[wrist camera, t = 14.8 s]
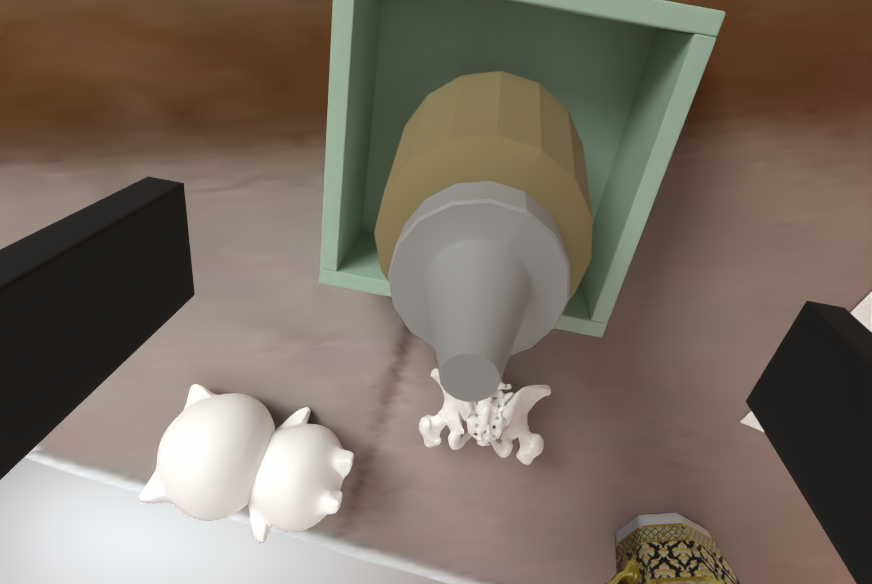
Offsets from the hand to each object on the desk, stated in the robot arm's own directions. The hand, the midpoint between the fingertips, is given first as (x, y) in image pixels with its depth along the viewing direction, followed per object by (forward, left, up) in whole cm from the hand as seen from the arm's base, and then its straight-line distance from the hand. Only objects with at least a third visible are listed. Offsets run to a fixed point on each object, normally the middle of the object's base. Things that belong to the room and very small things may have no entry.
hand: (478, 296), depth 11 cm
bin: (0, 0, -17) cm, 17 cm away
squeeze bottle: (+1, 0, -16) cm, 16 cm away
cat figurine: (+23, -11, -17) cm, 31 cm away
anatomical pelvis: (+16, +3, -17) cm, 24 cm away
